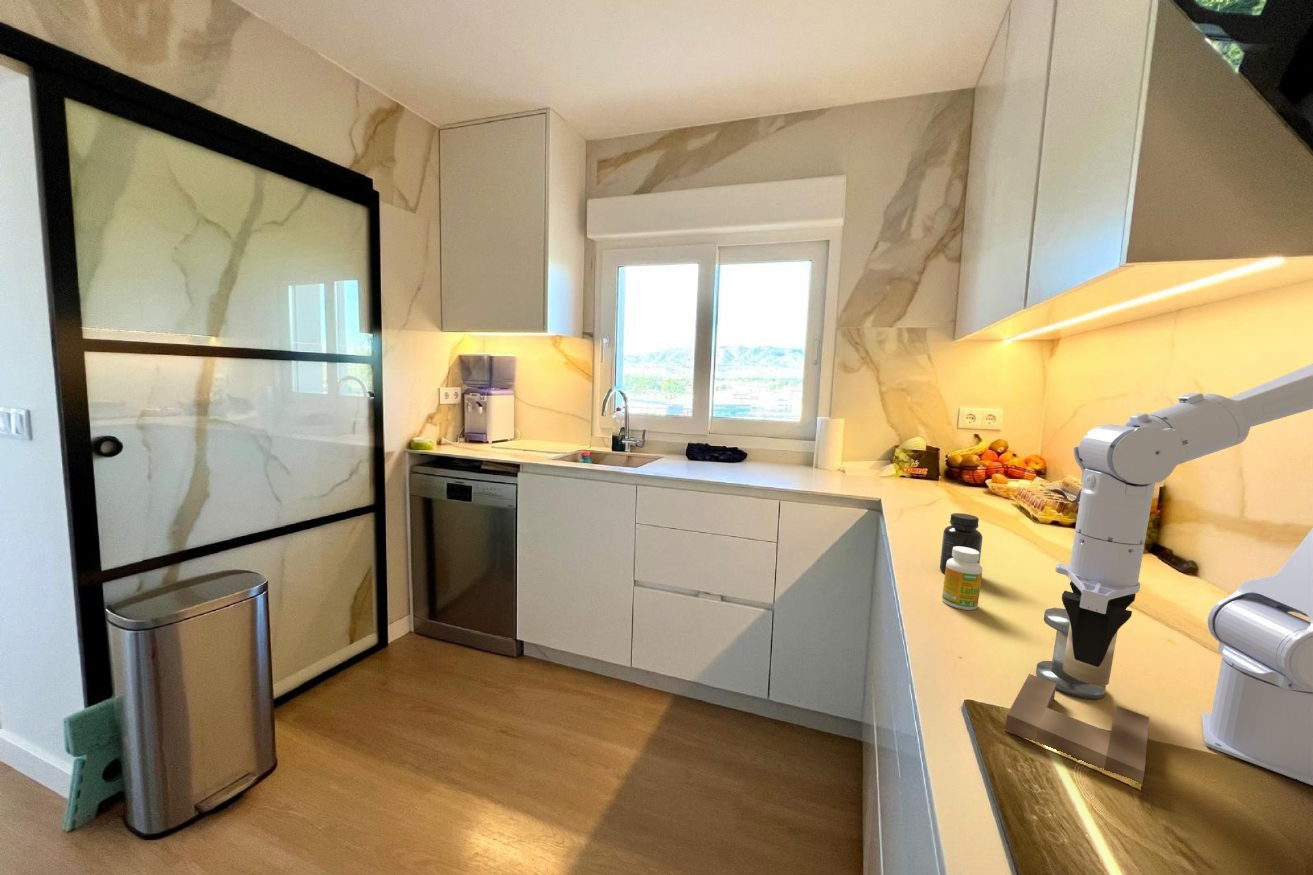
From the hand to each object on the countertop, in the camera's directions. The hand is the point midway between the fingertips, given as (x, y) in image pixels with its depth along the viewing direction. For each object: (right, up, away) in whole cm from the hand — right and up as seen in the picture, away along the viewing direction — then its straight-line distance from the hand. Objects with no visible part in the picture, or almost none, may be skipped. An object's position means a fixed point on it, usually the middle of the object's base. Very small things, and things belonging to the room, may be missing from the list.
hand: (1089, 654), depth 58 cm
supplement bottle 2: (+4, -5, +33) cm, 33 cm away
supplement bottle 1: (+13, -4, +48) cm, 49 cm away
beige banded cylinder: (0, -2, 0) cm, 2 cm away
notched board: (-2, -8, 0) cm, 9 cm away
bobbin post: (+5, -8, +9) cm, 13 cm away
